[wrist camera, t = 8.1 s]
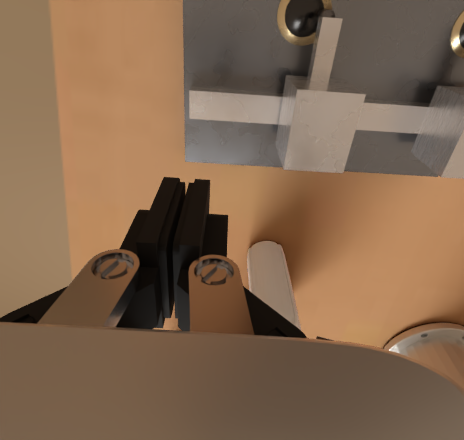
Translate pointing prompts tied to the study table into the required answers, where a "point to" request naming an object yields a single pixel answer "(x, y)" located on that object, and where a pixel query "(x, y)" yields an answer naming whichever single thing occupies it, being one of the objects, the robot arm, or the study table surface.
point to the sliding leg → (318, 109)
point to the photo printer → (272, 279)
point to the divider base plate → (344, 67)
